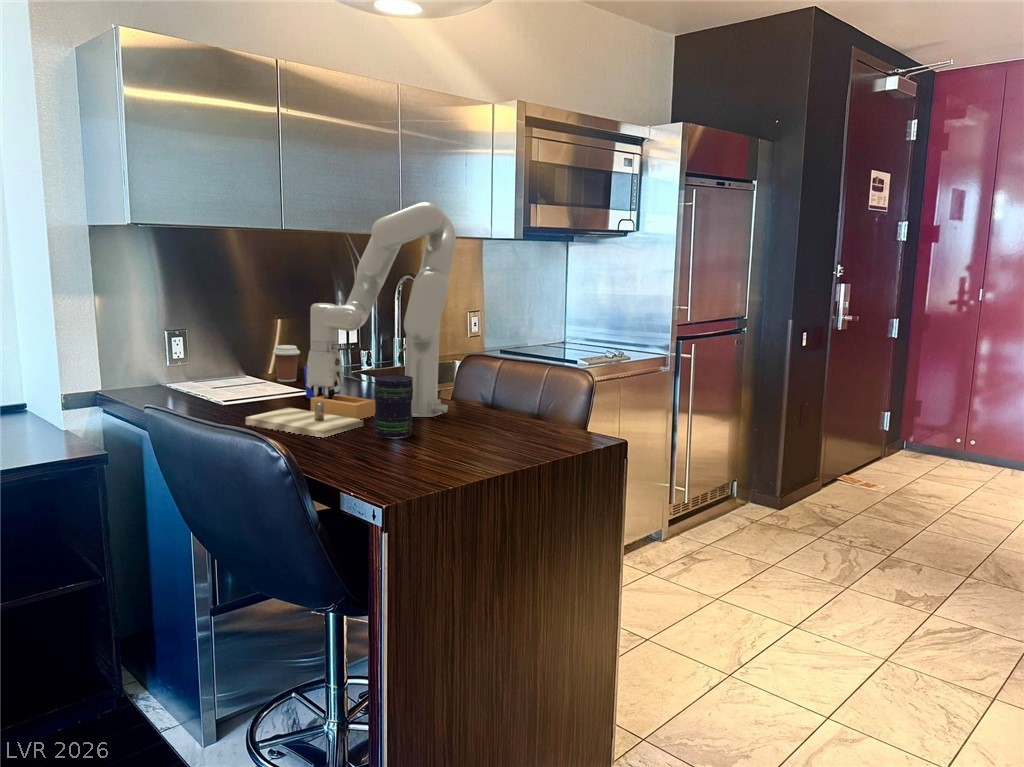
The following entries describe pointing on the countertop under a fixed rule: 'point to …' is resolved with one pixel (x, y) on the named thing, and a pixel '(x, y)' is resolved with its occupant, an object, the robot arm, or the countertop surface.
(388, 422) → the storage jar
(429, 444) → the countertop surface
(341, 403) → the orange rectangular frame
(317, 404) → the round metal post
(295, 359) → the coffee cup
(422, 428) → the countertop surface
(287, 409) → the backing board
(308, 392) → the mug
